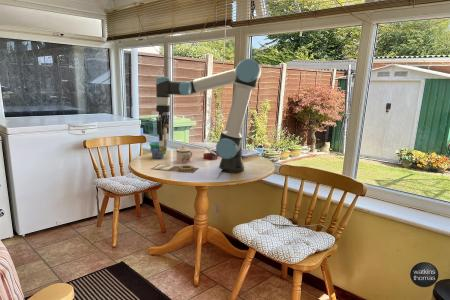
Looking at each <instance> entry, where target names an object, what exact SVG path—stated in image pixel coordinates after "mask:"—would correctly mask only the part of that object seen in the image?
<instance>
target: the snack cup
mask: <svg viewBox="0 0 450 300" xmlns="http://www.w3.org/2000/svg"><path fill="white" fill-rule="evenodd" d="M149 146H150V152H151V156H152V158H153V159H163V158H164V155H166V153H167V151H160V146H159V141H153V142H149Z"/></svg>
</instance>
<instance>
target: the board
mask: <svg viewBox="0 0 450 300" xmlns="http://www.w3.org/2000/svg"><path fill="white" fill-rule="evenodd" d="M199 169H200V168H199V167H195V166H194V165H189V164H184V165H183V164H182V165H178V166H177V165H168V164H161V163H160V164H157V165H155V166H153V167H151V168H150V171H151V170H152V171H153V170H154V171H164V172H175V173H187V174H194V173H196V171H198V170H199Z"/></svg>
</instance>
